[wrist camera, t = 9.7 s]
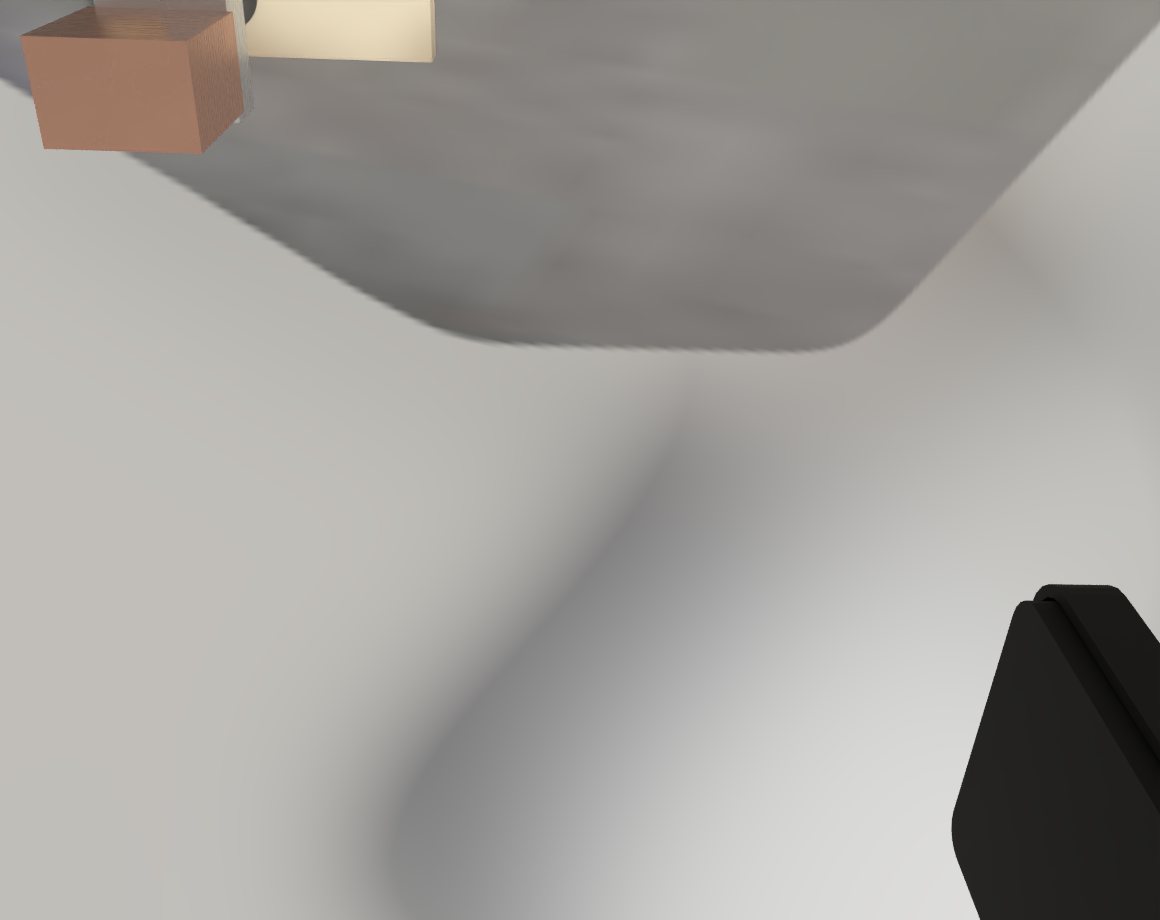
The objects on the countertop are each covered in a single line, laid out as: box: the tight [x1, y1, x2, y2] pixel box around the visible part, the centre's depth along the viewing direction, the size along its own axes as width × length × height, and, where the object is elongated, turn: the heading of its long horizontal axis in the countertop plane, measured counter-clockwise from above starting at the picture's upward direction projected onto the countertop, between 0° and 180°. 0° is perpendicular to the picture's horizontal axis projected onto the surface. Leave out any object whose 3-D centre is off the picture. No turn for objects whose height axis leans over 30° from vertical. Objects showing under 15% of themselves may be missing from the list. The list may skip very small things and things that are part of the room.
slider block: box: [20, 0, 254, 154], centre depth 30 cm, size 3×4×14 cm
